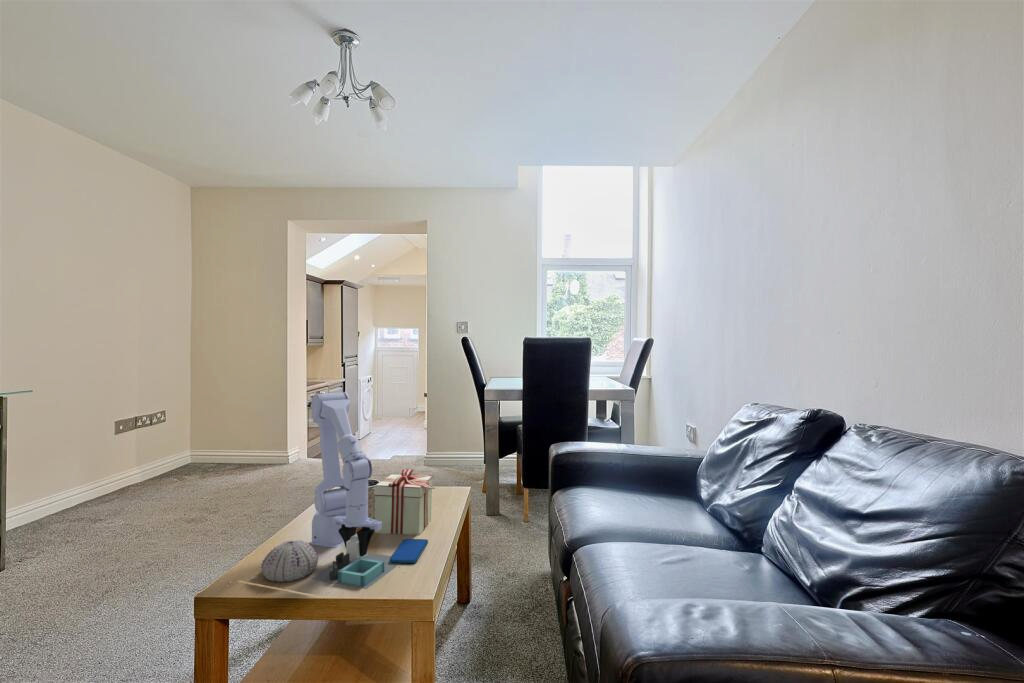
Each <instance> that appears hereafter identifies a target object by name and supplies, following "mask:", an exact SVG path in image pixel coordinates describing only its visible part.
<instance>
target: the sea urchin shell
mask: <svg viewBox="0 0 1024 683" xmlns="http://www.w3.org/2000/svg"><path fill="white" fill-rule="evenodd" d="M317 554H318V552H316V551H315V548H314V547H313V546H312V544H310V543H308V542H306V541H304V540H300V539H299V540H287V541H283V542H281V543H280V544H277V545H276V546H274V547H273V548H272V549H271V550H270V551H269V552H268V553H267V554H266V555H265V557H264V559H263V560H261V561H262V562H261V566H260V570H261V571H260V572H261V573H262V575H263V576H264V577H265V579H267V580H268V581H270V582H278V583H284V582H289V583H290V582H294V581H298V580H301V579H302V578H305V577H306V576H310V574H311V573H313V571H314V570H315V569H316V568H317V566H318V563H319V556H318V555H317Z"/></svg>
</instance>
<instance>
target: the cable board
mask: <svg viewBox="0 0 1024 683" xmlns="http://www.w3.org/2000/svg"><path fill="white" fill-rule="evenodd" d="M391 556H392V555H386V554H385V555H384V554H381V553H379V554H378V553H372V552H367V556H366V557H365V558H358V559H357V560H355V561H354V562H352V561H349V553H347V554H346V553H344V552H339V554H337V555H335V560H333V561H332V565H331V566H330V567H329V568H327V569H325V570H324V571H322V572H320V573H318V574H317V575H315V576H314V577H312V578H311V580H314V581H320V582H325V583H330V584H337V585H341V586H347V587H354V588H359V589H363V590H367V589H369V588H370V587H371V586H373V585H374V584H376V583H377V582H378V581H379V580H381V579H382V578H383V577H385V576H386V575H387V574H389V573H390V572H391V571H393V570H394V569H395V568H397V567H398V566H399V565H400V564H401V563H399V562H390V557H391Z"/></svg>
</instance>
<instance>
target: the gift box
mask: <svg viewBox="0 0 1024 683" xmlns="http://www.w3.org/2000/svg"><path fill="white" fill-rule="evenodd" d="M414 471H415V469H402V470H401V473H400V474H390V475H388V476H387V477H385V478H384V479H382V480H380V481H379V482H378V483H377V484H375V485H374V488H373V495H374V496H375V500H374V502H375V504H374V505H375V506H374V508H375V509H374V520H377V521H381V522H382V529H381V530H379V531H374V533H375V534H389V535H390V534H391V535H410V536H411V535H413V536H420V535H421V534H422V532H423V531H424V530H425V529H426V528H427V526H428V525H429V524H430V523H431V521H432V497H433V496H432V494H433V493H432V492H433V491H432V490H434V489H436V487H433V486H434V475H433V474H420V473H419V474H412V473H413V472H414ZM429 522H430V523H429ZM425 527H426V528H425Z"/></svg>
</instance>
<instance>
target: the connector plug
mask: <svg viewBox="0 0 1024 683" xmlns="http://www.w3.org/2000/svg"><path fill="white" fill-rule="evenodd" d="M345 549H346V550H345V551H346V552H345V555H346V554H347V553H349V561H352V562H354V561H355V560H357V559H358V558H365V557H366V556H367V554H365V555H364V556H360V552H359V540H358V536H357V533H355V535H354V536H352V537H350V540H348V541H347V542H346V547H345Z"/></svg>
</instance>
